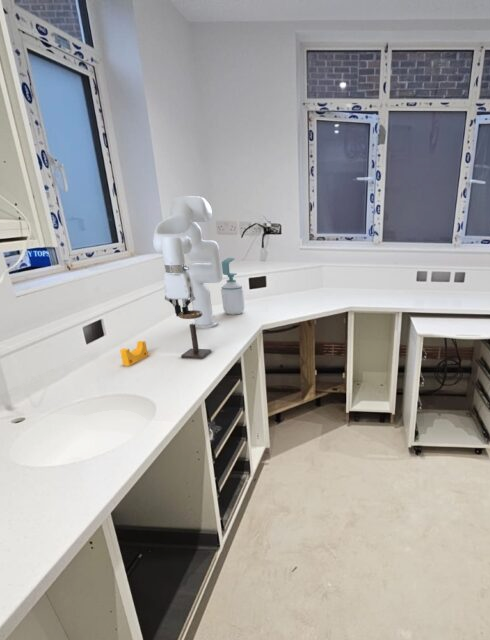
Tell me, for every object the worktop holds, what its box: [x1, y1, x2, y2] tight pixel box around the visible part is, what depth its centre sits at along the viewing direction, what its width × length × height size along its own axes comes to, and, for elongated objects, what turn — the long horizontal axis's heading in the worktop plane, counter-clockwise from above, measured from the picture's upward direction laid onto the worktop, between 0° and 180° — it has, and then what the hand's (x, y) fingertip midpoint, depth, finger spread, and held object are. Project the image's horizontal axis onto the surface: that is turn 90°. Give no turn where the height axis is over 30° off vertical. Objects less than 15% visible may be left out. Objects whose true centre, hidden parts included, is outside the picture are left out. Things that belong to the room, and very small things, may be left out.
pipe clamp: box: [119, 340, 149, 367], centre depth 162 cm, size 12×4×6 cm, turn 168°
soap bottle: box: [220, 257, 245, 316], centre depth 232 cm, size 12×12×31 cm
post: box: [180, 323, 212, 360], centre depth 167 cm, size 9×9×13 cm
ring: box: [178, 309, 203, 320], centre depth 163 cm, size 9×9×2 cm
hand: (182, 315), depth 163 cm, fingers closed on ring, 2 cm apart
